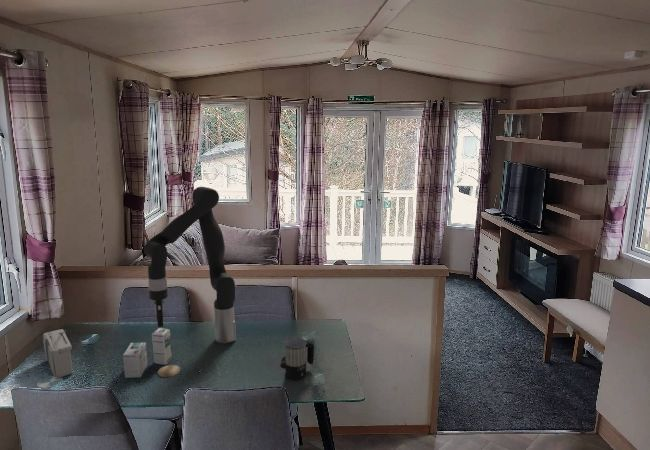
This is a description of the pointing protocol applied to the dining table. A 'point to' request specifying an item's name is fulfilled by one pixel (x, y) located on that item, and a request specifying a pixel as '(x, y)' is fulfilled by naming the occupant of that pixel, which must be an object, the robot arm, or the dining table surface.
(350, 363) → the dining table surface
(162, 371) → the cork coaster
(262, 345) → the dining table surface
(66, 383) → the dining table surface
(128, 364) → the light bulb box
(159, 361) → the syrup box
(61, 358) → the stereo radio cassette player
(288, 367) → the milk frother
